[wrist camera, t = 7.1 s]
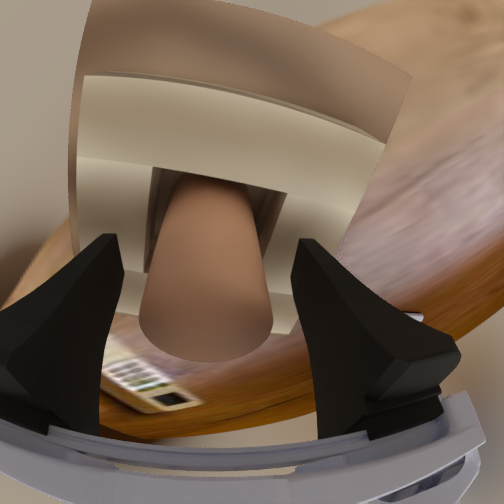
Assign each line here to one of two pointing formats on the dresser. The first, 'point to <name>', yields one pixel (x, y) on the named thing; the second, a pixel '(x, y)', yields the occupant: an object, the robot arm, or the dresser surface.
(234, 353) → the peg
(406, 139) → the dresser surface
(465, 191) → the dresser surface
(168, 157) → the socket
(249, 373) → the dresser surface
